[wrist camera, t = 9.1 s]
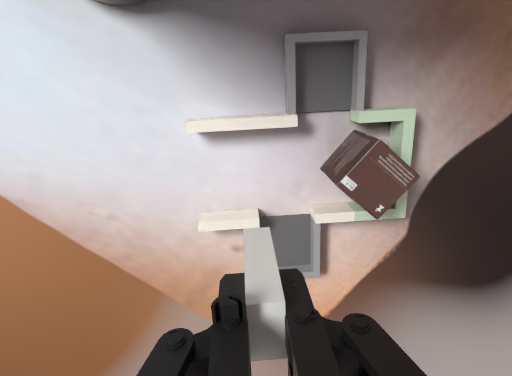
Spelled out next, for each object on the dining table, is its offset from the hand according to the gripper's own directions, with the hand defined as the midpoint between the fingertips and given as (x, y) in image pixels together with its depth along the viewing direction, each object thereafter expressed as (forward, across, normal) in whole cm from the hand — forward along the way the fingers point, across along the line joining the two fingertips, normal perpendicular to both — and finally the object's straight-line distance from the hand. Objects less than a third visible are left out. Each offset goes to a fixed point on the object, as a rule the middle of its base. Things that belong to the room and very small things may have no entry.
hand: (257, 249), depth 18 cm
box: (+20, +12, -1) cm, 24 cm away
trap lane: (+20, +6, 0) cm, 21 cm away
